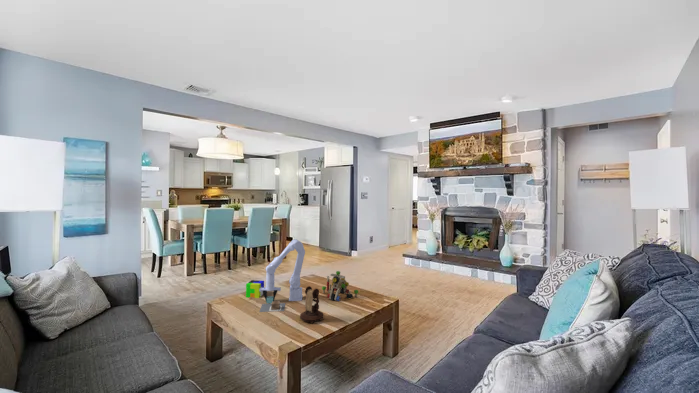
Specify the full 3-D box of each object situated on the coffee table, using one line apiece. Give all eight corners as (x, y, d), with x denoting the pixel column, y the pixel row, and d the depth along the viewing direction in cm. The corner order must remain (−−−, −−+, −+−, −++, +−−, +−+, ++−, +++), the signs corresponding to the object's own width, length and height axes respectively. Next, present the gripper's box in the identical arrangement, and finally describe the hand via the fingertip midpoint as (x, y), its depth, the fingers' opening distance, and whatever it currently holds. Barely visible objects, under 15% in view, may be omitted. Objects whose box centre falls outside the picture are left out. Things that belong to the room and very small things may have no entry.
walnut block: (279, 306, 209) (279, 301, 208) (279, 309, 204) (279, 303, 203) (272, 307, 208) (272, 301, 208) (271, 310, 203) (271, 304, 203)
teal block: (273, 301, 219) (273, 296, 219) (272, 304, 215) (273, 298, 215) (267, 301, 219) (267, 296, 219) (266, 304, 214) (266, 298, 214)
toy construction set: (314, 294, 237) (314, 267, 236) (336, 288, 252) (336, 263, 251) (336, 304, 217) (336, 275, 216) (358, 297, 232) (359, 270, 232)
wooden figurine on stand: (295, 319, 190) (295, 287, 190) (312, 312, 202) (312, 282, 201) (311, 326, 181) (311, 293, 180) (328, 318, 192) (328, 287, 192)
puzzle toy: (263, 293, 236) (264, 280, 236) (258, 298, 226) (259, 284, 226) (251, 292, 237) (251, 280, 237) (246, 297, 227) (246, 284, 227)
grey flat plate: (285, 303, 215) (285, 302, 215) (284, 311, 202) (284, 310, 202) (262, 304, 213) (262, 303, 213) (259, 312, 199) (259, 311, 199)
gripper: (281, 280, 222) (280, 298, 222) (260, 280, 219) (260, 299, 220) (280, 283, 215) (280, 302, 215) (259, 283, 212) (258, 302, 213)
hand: (270, 300), depth 217 cm, fingers closed on teal block, 4 cm apart
